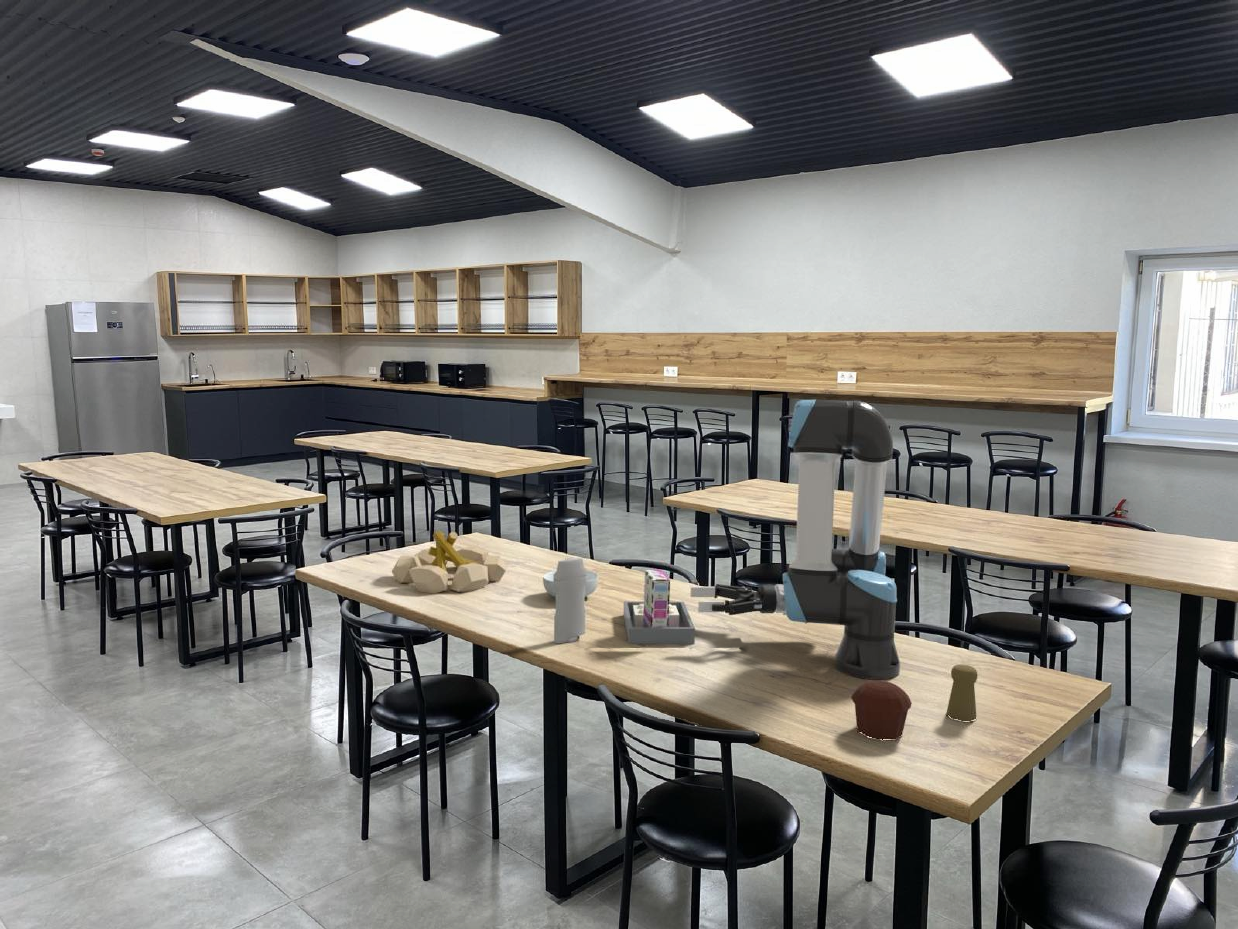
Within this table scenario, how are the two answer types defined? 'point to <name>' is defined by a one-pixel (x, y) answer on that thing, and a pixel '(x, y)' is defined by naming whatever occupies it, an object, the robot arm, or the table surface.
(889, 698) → the muffin
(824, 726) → the table surface
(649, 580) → the candy bar box
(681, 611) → the tote
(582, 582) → the tall pale column
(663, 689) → the table surface
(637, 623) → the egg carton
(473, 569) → the campfire
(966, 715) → the cork
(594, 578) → the cereal bowl
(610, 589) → the table surface
